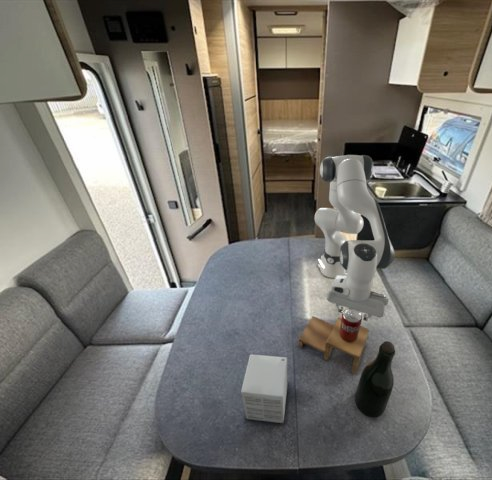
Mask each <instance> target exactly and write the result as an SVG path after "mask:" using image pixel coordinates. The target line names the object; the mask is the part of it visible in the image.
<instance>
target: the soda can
mask: <svg viewBox="0 0 492 480" xmlns="http://www.w3.org/2000/svg"><path fill="white" fill-rule="evenodd" d="M341 318H342V319H341V325H340V331H339V335H340V337H341V338H342V339H343V340H344V341H346V342H354V341H356V340H357V338H358V334H359V330H360V326H362V321H363V315H362V312H360V311H357V310H354V309H351V308H346V309H343V311H342V313H341Z"/></svg>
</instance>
